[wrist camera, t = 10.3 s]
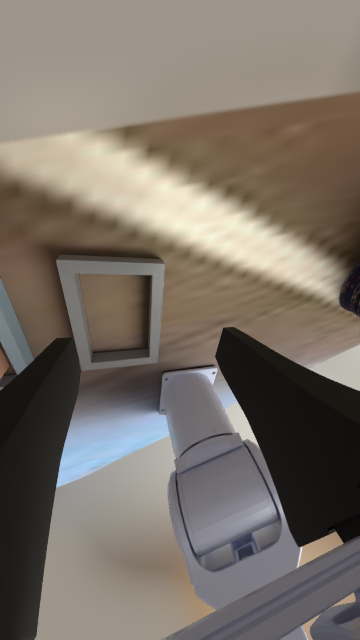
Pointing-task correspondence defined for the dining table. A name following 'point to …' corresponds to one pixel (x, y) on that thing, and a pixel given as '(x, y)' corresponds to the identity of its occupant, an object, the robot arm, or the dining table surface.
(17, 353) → the grey picture frame
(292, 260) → the dining table surface
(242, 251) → the dining table surface
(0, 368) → the terracotta block
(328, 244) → the dining table surface
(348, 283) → the storage jar
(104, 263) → the grey rectangular open frame
